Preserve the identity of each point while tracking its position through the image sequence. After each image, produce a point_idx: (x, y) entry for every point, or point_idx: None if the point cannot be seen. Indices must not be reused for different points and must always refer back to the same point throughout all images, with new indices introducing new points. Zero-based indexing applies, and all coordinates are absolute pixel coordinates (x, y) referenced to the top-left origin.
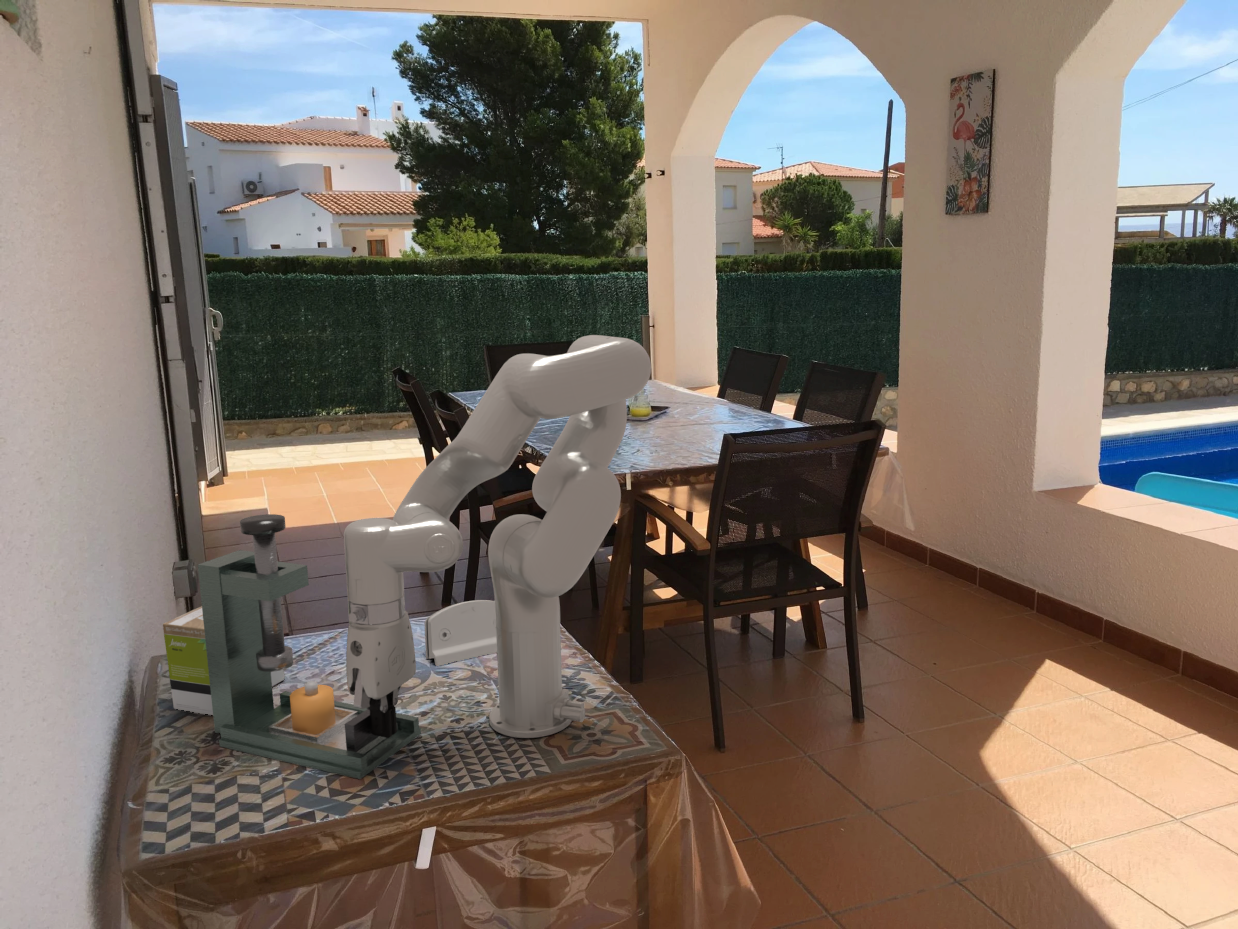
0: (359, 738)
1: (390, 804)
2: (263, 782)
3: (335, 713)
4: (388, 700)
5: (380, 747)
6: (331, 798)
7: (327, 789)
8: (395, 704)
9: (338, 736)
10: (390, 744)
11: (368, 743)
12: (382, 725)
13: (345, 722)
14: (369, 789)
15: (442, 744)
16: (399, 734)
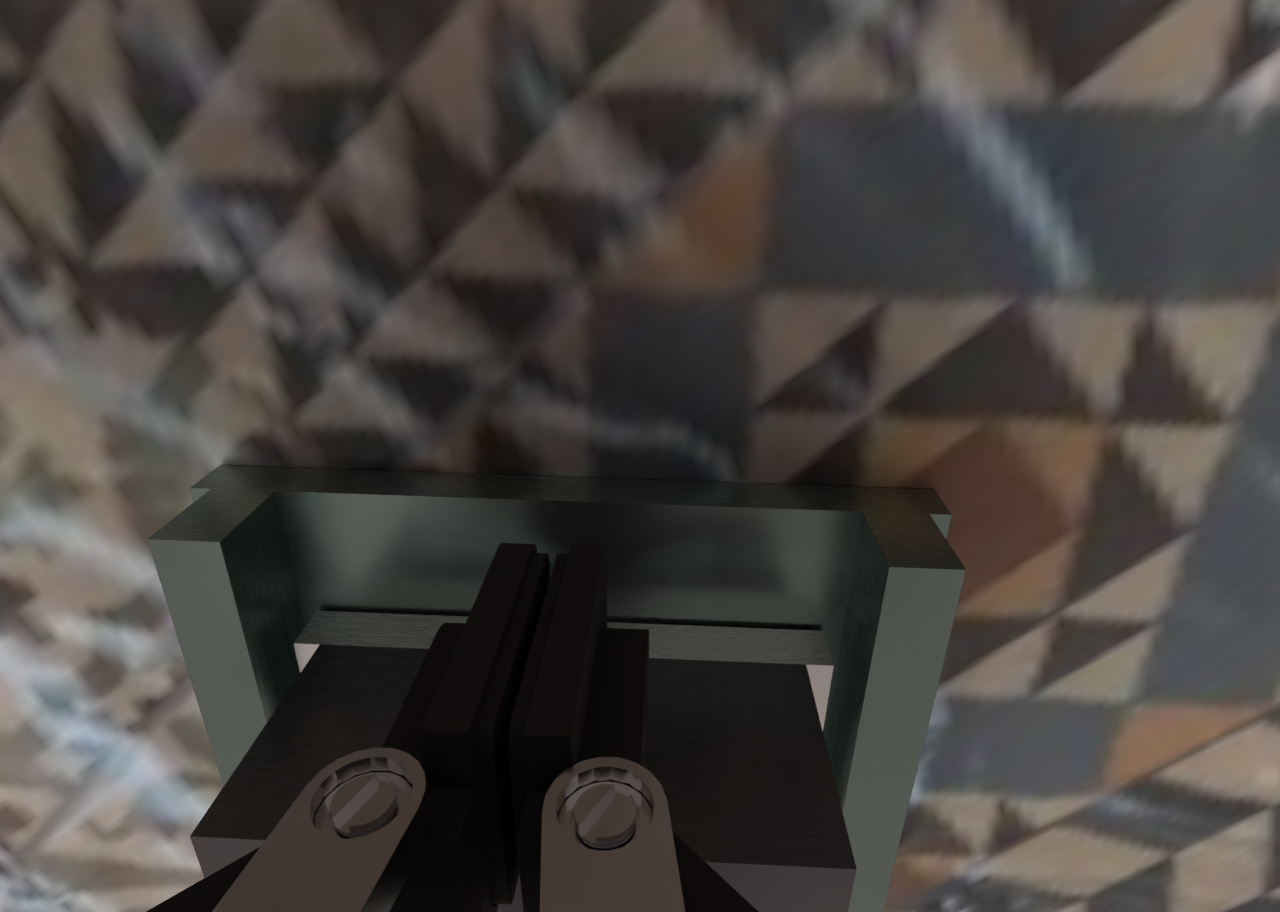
0: (757, 731)
1: (1271, 43)
2: (1059, 897)
3: None
4: (422, 876)
5: None
6: (1201, 518)
7: (1089, 600)
8: (380, 760)
9: None
10: None
11: (650, 660)
12: (629, 669)
13: None
14: (1051, 354)
15: (246, 218)
16: (358, 568)
